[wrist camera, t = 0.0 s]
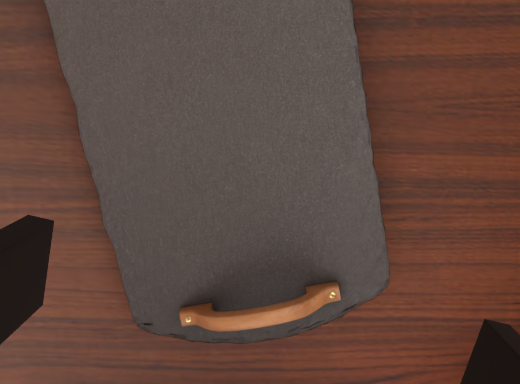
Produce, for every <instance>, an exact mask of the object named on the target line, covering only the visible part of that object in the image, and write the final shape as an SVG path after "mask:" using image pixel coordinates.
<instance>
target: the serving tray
mask: <svg viewBox="0 0 520 384" xmlns="http://www.w3.org/2000/svg"><path fill="white" fill-rule="evenodd" d="M44 2H45V4H46V8H47V11H48V15H49V19H50V22H51V27H52V30H53V34H54V38H55V43H56V49H57V53H58V58H59V63H60V66H61V69H62V72H63V74H64V76H65V79H66V81H67V83H68V85H69V88H70V93H71V95H72V98H73V100H74V103H75V106H76V111H77V118H78V128H79V134H80V138H81V141H82V144H83V151H84V154H85V157H86V160H87V162H88V164H89V165H90V169H91V173H92V177H93V181H94V183H95V186H96V188H97V191H98V195H99V202H100V208H101V210H102V212H103V216H102V222H103V225H104V227H105V229H106V232H107V234H108V236H109V238H110V241H111V244H112V246H113V248H114V249H115V251H116V260H117V264H118V266H119V268H120V272H121V278H122V283H123V287H124V290H125V292H126V295H127V299H128V303H129V307H130V311H131V314H132V317H133V319H134V321H135V323H136V325H137V326H138V327H139V328H141V329H143V330H145V331H147V332H150V333H153V334H157V335H164V336H171V337H174V338H179V339H183V340H188V341H192V342H195V341H199V342H206V343H222V342H226V343H237V344H247V343H254V342H259V341H266V340H272V339H278V338H285V337H290V336H294V335H297V334H299V333H301V332H303V331H308V330H312V329H314V328H316V327H318V326H321V325H323V324H327V323H329V322H331V321H332V320H334V319H337V318H340V317H343V316H344V315H345V314H347V313H348V312H350V311H351V310H353V309H355V308H357V307H358V306H360V305H361V304H363V303H365V302H367V301H370V300H372V299H373V298H375V297H376V296H378V295H379V294H380V293H381V292H383V291H384V290H385V289H386V288H387V286H388V285H389V280H390V269H389V260H388V254H387V248H386V239H385V227H384V223H383V218H382V212H381V205H380V197H379V191H378V185H379V181H378V178H377V176H376V170H375V167H374V163H373V156H374V154H373V149H372V144H371V134H372V133H371V130H370V126H369V121H368V115H367V109H366V97H367V96H366V93H365V90H364V87H363V82H362V74H363V73H362V69H361V64H360V57H359V53H358V39H357V35H356V30H355V25H354V17H353V6H352V0H44Z"/></svg>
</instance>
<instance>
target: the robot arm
mask: <svg viewBox="0 0 520 384" xmlns="http://www.w3.org/2000/svg"><path fill="white" fill-rule="evenodd" d="M53 225H54V221H53V220H48V219H44V218H40V217H35V216H31V215H27V216H25V217H23V218H21V219H20V220H18V221H16V222H14V223H12V224H10V225H8V226H6V227H4V228H2V229H0V344H1V343H3V342H4V341H5V340H6V339H7V338H8V337H9V336H10V335H11V334H12V333H13V332H14V331H15V330H16V329H17V328H19V327H20V326H21V325H22V324H23V323H24V322H25V321H26V320H27V319H28V318H29V317H30V316H31V315H32V314H33V313H35V312H36V311H37V310H38V309H39V308H40V307H41V306H42V305H43V299H44V292H45V284H46V277H47V269H48V262H49V255H50V247H51V240H52V232H53ZM460 384H520V335H519V334H518V333H517V332H516V331H515V330H514V329H513V328H512V327H511V326H510V325H508V324H504V323H500V322H495V321H491V320H486V319H484V322H483V325H482V327H481V330H480V333H479V335H478V338H477V341H476V343H475V346H474V349H473V351H472V354H471V357H470V359H469V362H468V365H467V367H466V370H465V373H464V375H463V378H462V381H461V383H460Z"/></svg>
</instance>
